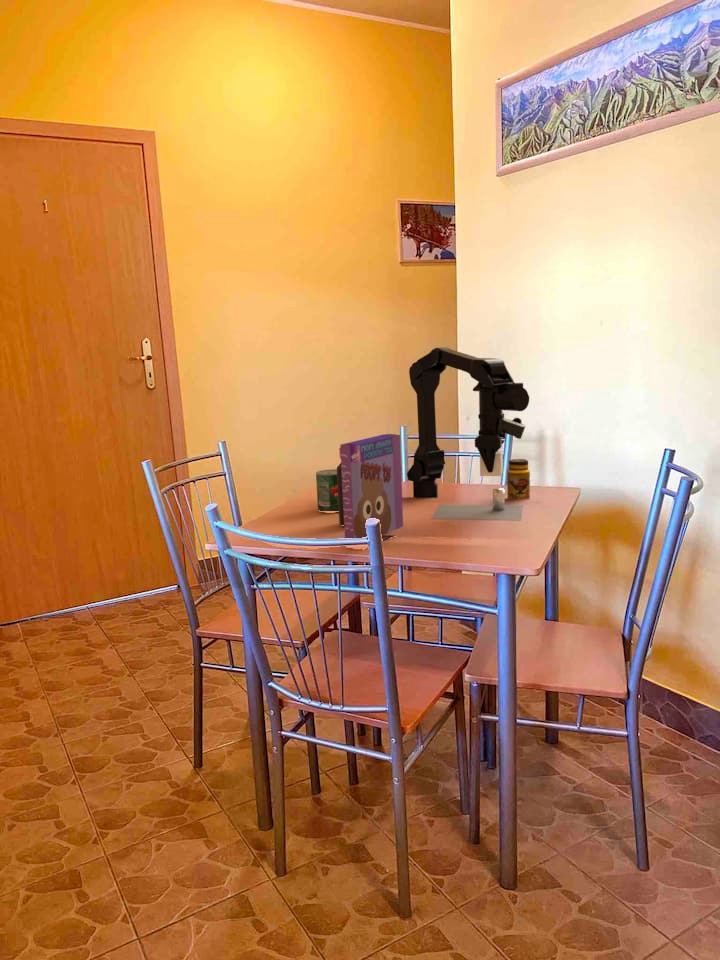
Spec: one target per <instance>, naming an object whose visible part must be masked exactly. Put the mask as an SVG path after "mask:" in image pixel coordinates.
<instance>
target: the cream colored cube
mask: <svg viewBox="0 0 720 960" xmlns="http://www.w3.org/2000/svg"><path fill="white" fill-rule="evenodd" d="M503 470H504V469H503V450H498V451H497V452H496V455H495V461H494V467H493V472H488V471H487V468H486V466H485V464H484V462H483V459H482V457H481V455H480V454H479V475H480V477H502V474H503V472H504V471H503Z"/></svg>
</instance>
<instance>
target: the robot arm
mask: <svg viewBox="0 0 720 960" xmlns="http://www.w3.org/2000/svg"><path fill="white" fill-rule="evenodd" d="M447 367H450V368H454V369H457V370H459V371H462V372H465V373H467V374H469V376H470V377H471V378H472V379H473V380H475V381H476V382H477V384H476V385H475V386H474V387H473V388H472V391H473V392H478V402H479V403H478V415H477V417H478V419H479V430H478V435H477V436H476V438H475V439H474V448H476V449H477V451H478V453H479V456H480V455H481V457H482V459H483V462H484V464H485V466H486V468H487V471H488V472H493V467H494V461H495V455H496V452H497V451H500V449H501V448H502V447H503V444H504V443H505V440H504V439H506V438H507V435H509V436H512V437H514V438H516V439H519V440H521V439H522V437H523V434H524V432H525V429H526V425H525V424H524V423H522V418H520V417H517V416H516V417H514V418H513V419H512V420H511V419H508V418H505V413H504V412H503V411H511V412H523V411H525V410H526V409H527V408H528V407H529V402H530V395H529V393H528V390H527V389H526V388H525V387H524V383H523V382H515V381H514V379H513V378H512V376H511V374H510V372H509V370H508V368H507V366H506V364H505V361H504V360H503V359H502V358H492V357H490V358H489V357H487V358H486V357H485V358H484V357H476V356H473V355H470V354H467V353H464V352H460V351H457V350H454V349H451V348H449V347H447V346H445V347H435V348H432V350H431V351H430V352H429V353H427V354H426V355H424V356H422V357H420V358H419V359H417V360H416V361H415V362H413V363H412V364H411V365H410V367H409V371H408V375H409V380H410V385H411V387H412V389H413V391H414V392H415V394H416V405H417V406H416V408H417V428H418V429H417V430H418V432H417V433H418V446H417V448H416V450H415V452H414V454H413V464H412V465H411V467H410V468H409V470H408V471H407V473H406V476H407V480H408V481H410V482H412V490H413V491H412V492H413V495H412V496H413V498H414V499H415V498H417V499H419V498H421V499H424V498H425V499H438V498H439V483H437V479H441V477H442V474H443V470H444V468H445V465H446V462H445V461H446V460H445V450H444V449H441V448H440V446H439V445H438V444H437V423H436V422H437V421H436V418H437V417H436V400H435V399H436V397H435V393H436V391H437V389H438V386H440V381H441V379H440V378H441V374H442V373H444V372H445V370H446V369H447Z"/></svg>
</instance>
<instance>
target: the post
mask: <svg viewBox="0 0 720 960" xmlns="http://www.w3.org/2000/svg"><path fill="white" fill-rule="evenodd" d="M505 499H506V498H505V488H504V487H493V488H492V505H493V510H495V511H503V510H505V505H506V504H505V503H506V502H505Z"/></svg>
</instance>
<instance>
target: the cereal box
mask: <svg viewBox="0 0 720 960" xmlns="http://www.w3.org/2000/svg"><path fill="white" fill-rule="evenodd" d="M339 446H340V447H339V448H340V450H341V459H340V463H341V470H342V490H343V510H344V527H343V529H344V530H343V531H344V539H345V538H362V537H366V536H367V534H366V528H365V523H366V520H367V519H369V518H376V519H379V520H380V524H381V534H382V539H383V542H386V540H390V539H392V538H393V537H396V536H397V535H395V534H393V535H392V534H389V533H391V532H393V531H395V530H398V529H400V528H402V527H404V521H403V520H404V517H403V516H404V515H403V511H404V510H403V488H402V487H403V486H402V485H403V484H402V483H403V481H402V457H401V454H402V453H401V449H402V448H401V435H400V434H396V433H394V434H393V433H386V434H380V435H375V436H371V437H367V438H363V439H358V440H354V441H350V442H345V443H341V444H340V445H339ZM391 537H392V538H391Z"/></svg>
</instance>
